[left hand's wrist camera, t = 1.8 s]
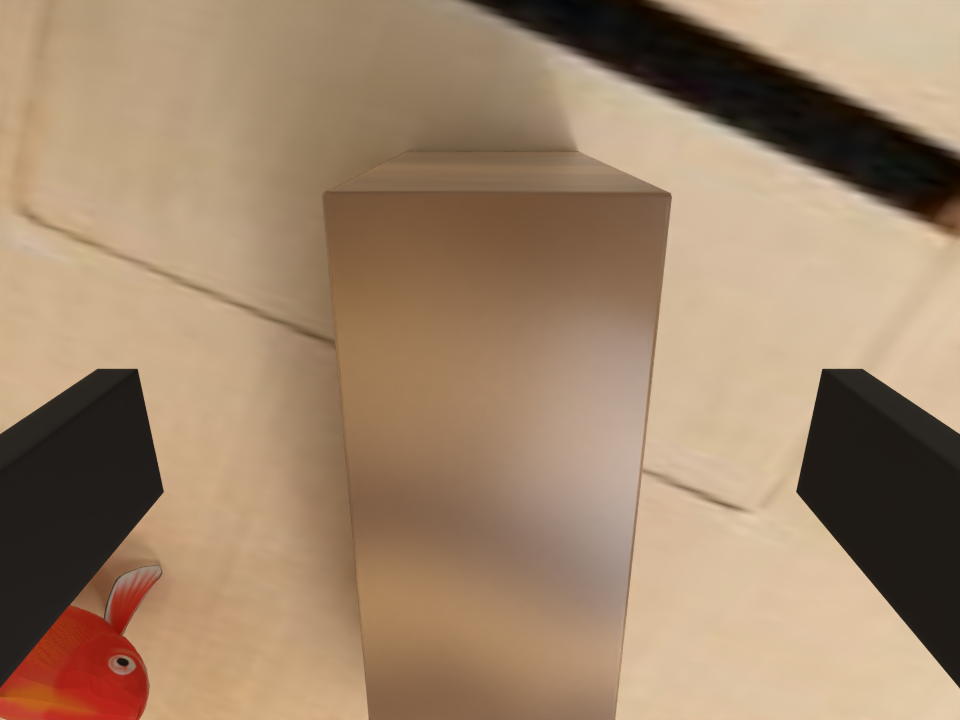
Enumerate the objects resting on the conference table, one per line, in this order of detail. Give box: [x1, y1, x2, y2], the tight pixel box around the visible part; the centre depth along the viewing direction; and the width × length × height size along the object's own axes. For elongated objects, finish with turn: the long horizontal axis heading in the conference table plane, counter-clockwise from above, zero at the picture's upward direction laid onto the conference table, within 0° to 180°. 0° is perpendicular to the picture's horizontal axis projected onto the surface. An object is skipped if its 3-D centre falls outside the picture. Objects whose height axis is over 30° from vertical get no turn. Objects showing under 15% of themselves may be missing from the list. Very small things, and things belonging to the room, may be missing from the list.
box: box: [322, 151, 672, 720], centre depth 21 cm, size 26×6×12 cm, turn 0°
